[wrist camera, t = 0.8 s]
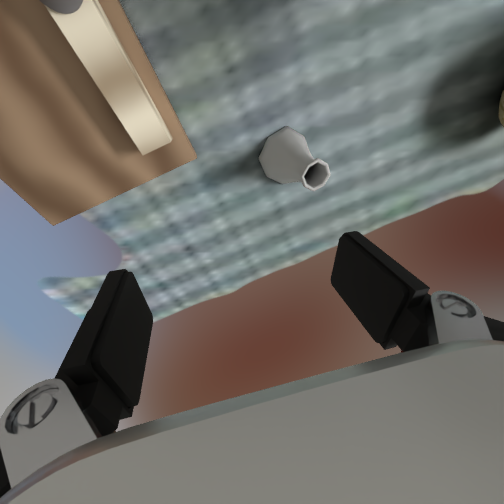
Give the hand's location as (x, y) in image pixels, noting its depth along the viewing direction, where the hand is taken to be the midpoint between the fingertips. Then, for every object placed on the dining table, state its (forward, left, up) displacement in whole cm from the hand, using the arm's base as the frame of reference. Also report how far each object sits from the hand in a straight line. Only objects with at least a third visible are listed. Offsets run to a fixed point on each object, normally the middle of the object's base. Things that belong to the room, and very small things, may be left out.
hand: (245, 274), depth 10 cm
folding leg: (+4, -11, -22) cm, 25 cm away
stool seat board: (+11, -11, -24) cm, 29 cm away
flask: (-10, +4, -24) cm, 26 cm away
